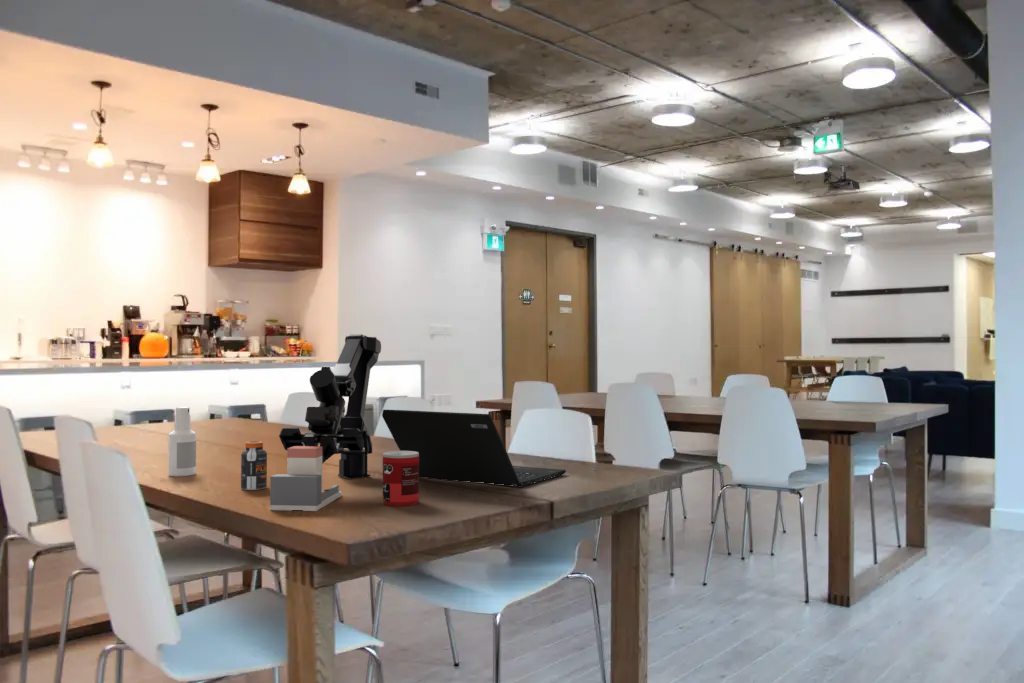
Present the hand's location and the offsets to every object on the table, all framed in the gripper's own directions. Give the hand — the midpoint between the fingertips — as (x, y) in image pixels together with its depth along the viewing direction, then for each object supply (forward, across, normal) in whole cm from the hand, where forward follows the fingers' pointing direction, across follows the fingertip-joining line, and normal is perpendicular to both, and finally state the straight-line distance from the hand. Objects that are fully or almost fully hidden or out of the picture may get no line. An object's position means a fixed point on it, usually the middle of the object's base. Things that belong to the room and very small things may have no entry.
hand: (313, 469), depth 177 cm
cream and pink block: (+8, 0, 0) cm, 8 cm away
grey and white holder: (+7, 0, +3) cm, 7 cm away
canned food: (+6, +20, +3) cm, 22 cm away
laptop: (-16, +33, +26) cm, 45 cm away
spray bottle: (-16, -47, +26) cm, 56 cm away
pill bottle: (-4, -19, +14) cm, 24 cm away
